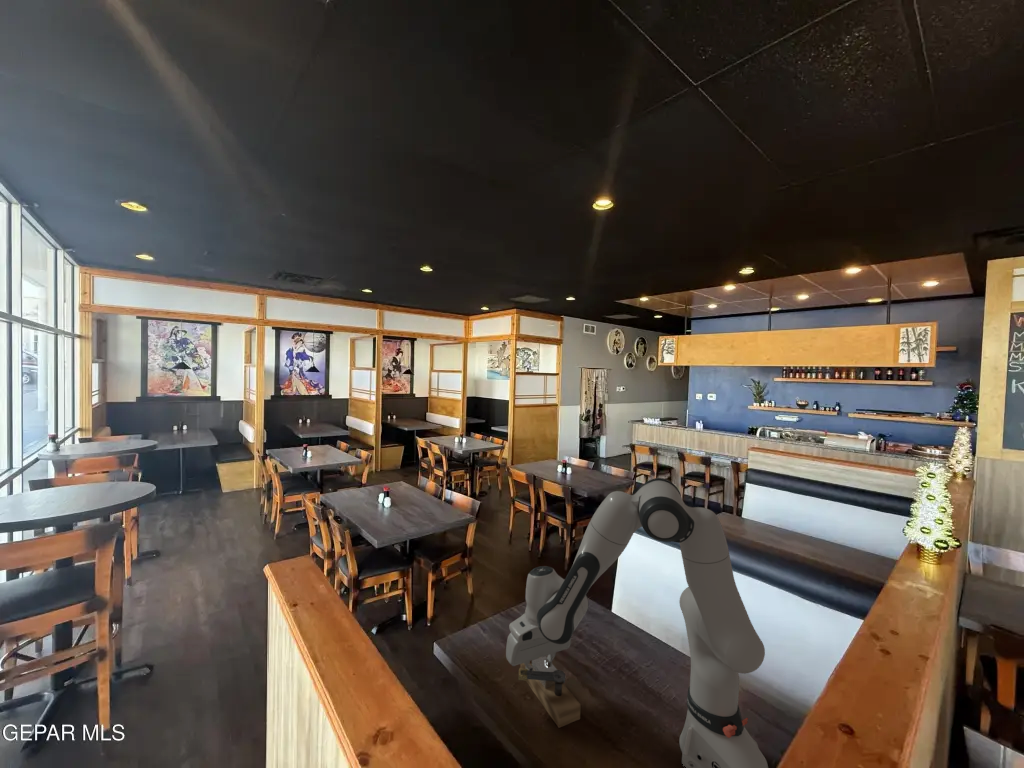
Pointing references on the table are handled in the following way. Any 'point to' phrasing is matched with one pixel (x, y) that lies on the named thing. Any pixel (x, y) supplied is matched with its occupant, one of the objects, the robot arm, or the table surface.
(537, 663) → the lever cap
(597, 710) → the table surface
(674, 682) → the table surface
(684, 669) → the table surface
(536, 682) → the plane body
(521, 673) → the lever
